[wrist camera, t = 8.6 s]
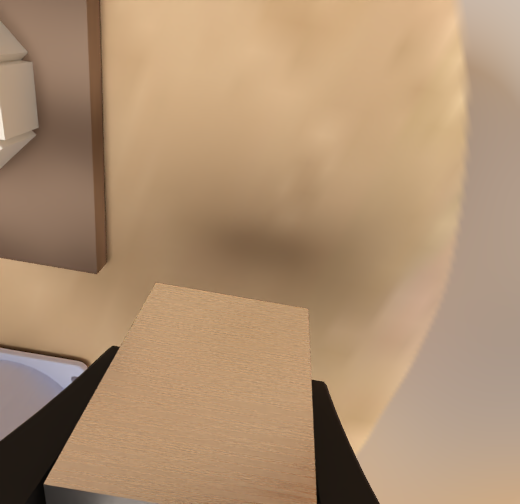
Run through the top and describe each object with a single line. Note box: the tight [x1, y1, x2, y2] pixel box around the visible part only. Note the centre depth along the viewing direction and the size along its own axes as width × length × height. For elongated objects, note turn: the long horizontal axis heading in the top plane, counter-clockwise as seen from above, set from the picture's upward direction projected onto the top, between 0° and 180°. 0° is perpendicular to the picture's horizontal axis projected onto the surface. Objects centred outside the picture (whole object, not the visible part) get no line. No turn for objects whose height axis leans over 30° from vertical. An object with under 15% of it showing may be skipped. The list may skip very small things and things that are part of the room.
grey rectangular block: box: [43, 283, 317, 504], centre depth 9 cm, size 4×4×6 cm
